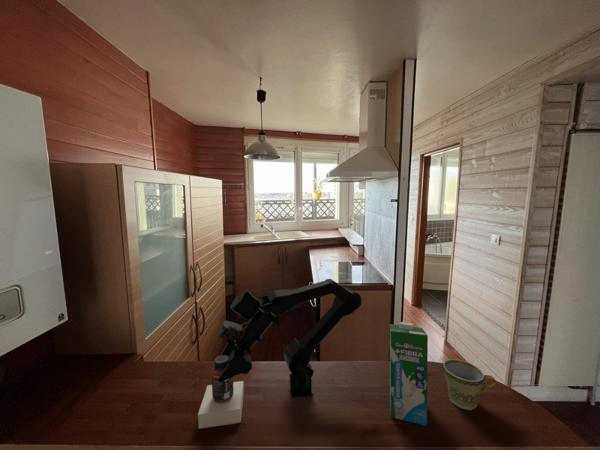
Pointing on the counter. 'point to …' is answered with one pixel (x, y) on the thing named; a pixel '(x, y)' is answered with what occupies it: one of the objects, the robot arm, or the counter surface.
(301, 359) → the robot arm
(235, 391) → the plinth
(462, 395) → the ceramic cup
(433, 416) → the counter surface
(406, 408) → the milk carton
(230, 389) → the supplement bottle
